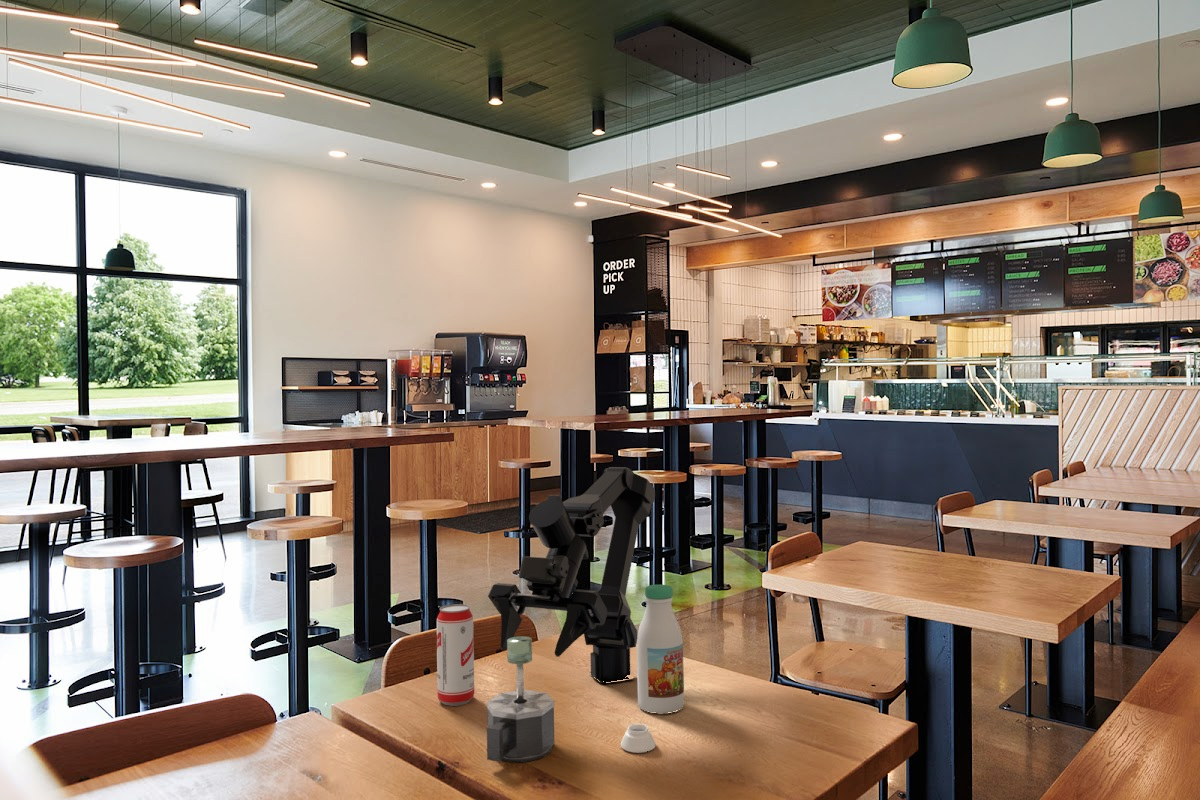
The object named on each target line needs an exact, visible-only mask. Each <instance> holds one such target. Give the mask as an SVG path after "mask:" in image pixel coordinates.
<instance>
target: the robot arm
mask: <svg viewBox="0 0 1200 800" xmlns="http://www.w3.org/2000/svg"><path fill="white" fill-rule="evenodd" d="M655 498H656V490H655V487H654V486H653V484H652V483H651V482H650V481H649V479H648V478H646V477H643V476H641V475H639V474H637V473H634V471H633V470H632V469H631V468H628V467H626V466H625V467H622V466H621V467H620V466H619V467H617V466H615V467H614V466H612V467H608V468H605V469H604V470H603V473H602V475H601V476H600V477H599V478H598V479H597V480H596V481H594V482H593V484H592V485H591V486H590V487H589V488H588V489H587V490H586V491H585V492H584V493H583V494H581V495H577V496H574V497H570V498H568V499H566V500H564V501H563V499H562V497H561V495H556V494H554V495H553V494H552V495H551V494H549V495H548V496H547V498H546V500H543V501H541V502H539V503H537V504H536V505H535V506H534V507H533V508H531V510H530V512H529V514H528V520H529V523H530V524H531V526H532V528H533V530H534V531H535V533H536V535H537V537H538V538H539V540H540V542H541V544H542V545H543V546H544V547H546V548H548V551H547V554H546V556H545V557H539V556H538V557H536V556H522V559H521V564H520V568H519V573H518V578H520V579H523V580H525V581H527V583H526V587H527V590H531V591H532V592H531V593H522V592H521V591H520V589H519V587H518V585H516V584H514V583H504V582H503V583H501V582H497V583H495V584H493V585H491V588H490V590H489V593H488V595H487V597H488V598H489V600H490V602H491V603H492V604H493V606H494V607H495V609H496V610H497V611H498V613H499V614H500V619H501V623H500V624H501V627H500V628H501V630H500V648H501V650H502V651H507V640H508V639H509V638H512V637H515V634H516V633H517V630H518V629H519V628H520V625H521V623H522V621H523V618H522V616H521V615H523V614H524V613H525V611H526V608H535V609H543V610H544V609H545V610H553V611H563V612H566V619H565V621H564V624H563V626H562V629H561V632H560V634H559V637H558V639H557V642H556V646H555V650H554V655H555V657H557V658H560V656H561V655H562V654H564V652H566V651H567V650H568V649H569V648H570V647H571V646H572V644H574V643H575V642H576V641H577V640H578V639H579V638H580V637H582V636H583V635H584V636H583V637H584V641H585V645H586V646H592V652H590V673H591V675H592V678H594V677H595V678H596V679H598V680H599V681H600V682H601V683H606V682H611V681H617V680H623V679H629V678H628V677H626V676H627V675H630V674H631V649H633V648H637V636H638V629H637V627H636V626H635V624H634V622H633V620H632V618H631V615H632V614H631V613H632V611H631V608H630V605H629V602H628V599H627V597H626V594H627V589H628V584H629V579H630V575H631V573H630V572H631V567H632V563H633V557H634V553H635V548H636V547H635V546H636V544H637V543H636V541H637V537H638V531H639V527H640V525H641V524H642V523H643V521H644V520H645V519H646V518H647V517H648V516H649V515H650V512H651V509H652V505H653V503H654V502H655ZM610 507H611V510H612V512H613V514H614V518H615V519H614V522H613V526H612V527H613V528H612V532H611V537H610V542H609V548H608V551H607V557H606V562H605V565H604V570H603V575H602V580H601V585H600V588H599V589H598V590H590V589H587V590H586V589H574V590H573V592H572V595H571V591H572V589H573V588H578V584H579V581H578V579H577V575H578V571H579V568H580V567H581V563H582V560H588V559H589V552H588V549H587V545H586V543H585V541H584V538H583V537H596V536H597V535H598V533H599V532H600V530H601V529H602V528H603V526H604V524H605V522H604V521H605V520H604V514H605V512H606V511H607V510H608V509H609V508H610ZM570 595H571V597H570ZM590 673H589V674H590ZM591 675H590V676H591ZM625 677H626V678H625ZM595 678H594V679H595ZM596 679H595V680H596ZM603 681H604V682H603ZM600 682H599V683H600ZM601 683H600V684H601Z"/></svg>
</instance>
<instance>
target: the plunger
mask: <svg viewBox="0 0 1200 800" xmlns="http://www.w3.org/2000/svg"><path fill="white" fill-rule="evenodd" d="M506 651H507V652H506V653H507V654H506V655H507V662H508V663H509V664H512V665H516V691H517V704H522V703H524V690H525V686H524V681H525V680H524V679H525V677H524V664H528V663H531V662H532V661H533V639H532V637H529V636H525V635H524V636H523V635H522V636H521V635H520V636H514V637H512V638H509V639H508V640H507V649H506Z"/></svg>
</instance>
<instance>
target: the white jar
mask: <svg viewBox="0 0 1200 800" xmlns="http://www.w3.org/2000/svg"><path fill="white" fill-rule="evenodd" d="M620 747H621V748H622V749H623V750H624V751H626V752H627V753H628V752H629V753H632V754H644V753H647V751H648V752H651V751H652V750H653V749H656V748H655V747H656V741H655V739H654V737H653V735H652V733H651V731H649V726H648V725H645V724H642V723H641V724H640V723H635V724H631V725H628V726H627V729H626V731H625V733H624V734H623V738H622V740H621V742H620Z"/></svg>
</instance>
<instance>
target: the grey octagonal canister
mask: <svg viewBox="0 0 1200 800" xmlns="http://www.w3.org/2000/svg"><path fill="white" fill-rule="evenodd" d="M554 707H555V700H554V699H553V698H552V697H551V696H550V695H549V694H548V692H544V691H538V690H530V689H524V703H522V704H517V690H513V691H507V692H500V693H498V694H497V695H495V696H493V697H491V698H490V699H489V700H487V701H486V708H487V726H486V756H487V757H486V759H487V760H488V761H493V762H498V763H500V762H506V763H512V764H513V763H516V764H517V763H528V762H533V761H537V760H540V759H542V758H544V757H547V756H548V755H549V754H550V753H551V752H552V749H553V745H554V744H555V710H554V709H555V708H554Z"/></svg>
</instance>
